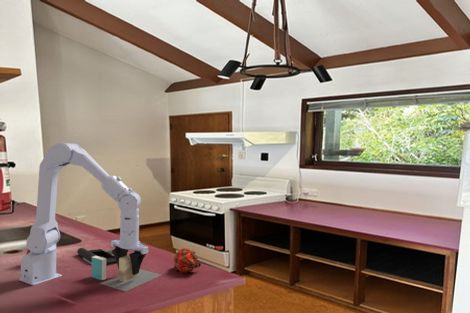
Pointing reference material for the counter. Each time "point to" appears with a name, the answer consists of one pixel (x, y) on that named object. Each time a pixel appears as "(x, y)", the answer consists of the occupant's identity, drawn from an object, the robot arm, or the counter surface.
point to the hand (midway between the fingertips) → (128, 272)
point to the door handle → (99, 252)
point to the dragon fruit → (186, 261)
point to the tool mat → (131, 281)
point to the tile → (99, 267)
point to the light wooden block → (125, 269)
